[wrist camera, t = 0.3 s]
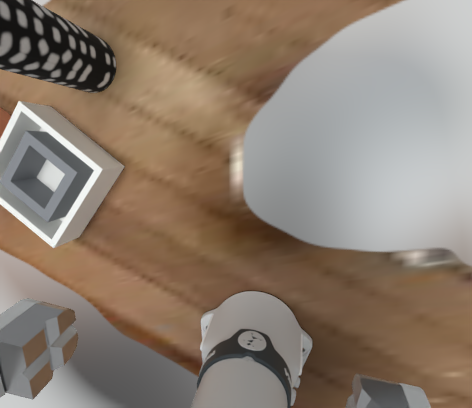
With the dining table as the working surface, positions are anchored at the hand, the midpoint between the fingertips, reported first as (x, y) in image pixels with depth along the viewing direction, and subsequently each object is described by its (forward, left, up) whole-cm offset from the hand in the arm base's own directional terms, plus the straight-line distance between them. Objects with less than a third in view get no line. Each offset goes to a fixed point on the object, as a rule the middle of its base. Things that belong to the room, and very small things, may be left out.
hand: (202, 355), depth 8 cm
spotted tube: (+14, +31, -39) cm, 52 cm away
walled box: (-4, +36, -39) cm, 53 cm away
